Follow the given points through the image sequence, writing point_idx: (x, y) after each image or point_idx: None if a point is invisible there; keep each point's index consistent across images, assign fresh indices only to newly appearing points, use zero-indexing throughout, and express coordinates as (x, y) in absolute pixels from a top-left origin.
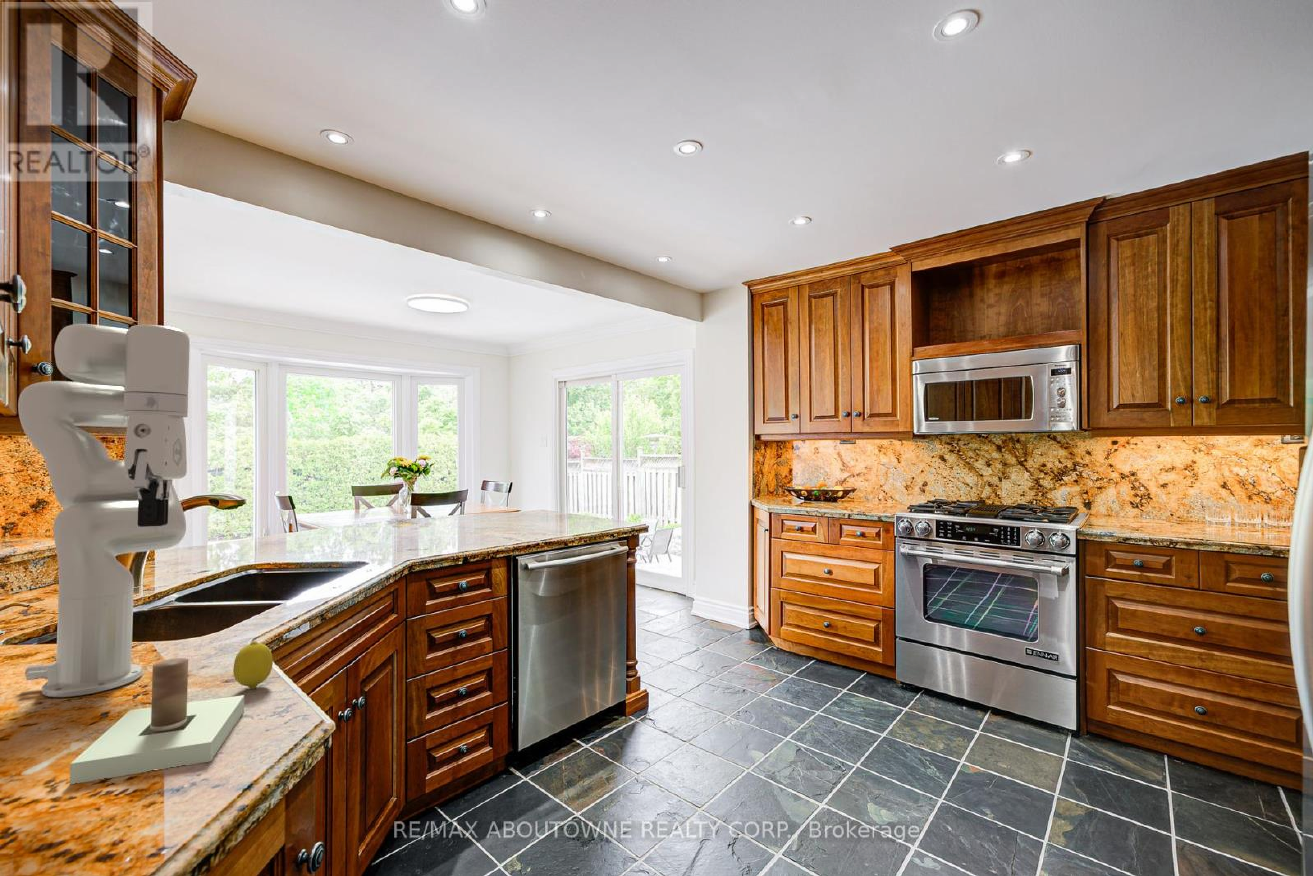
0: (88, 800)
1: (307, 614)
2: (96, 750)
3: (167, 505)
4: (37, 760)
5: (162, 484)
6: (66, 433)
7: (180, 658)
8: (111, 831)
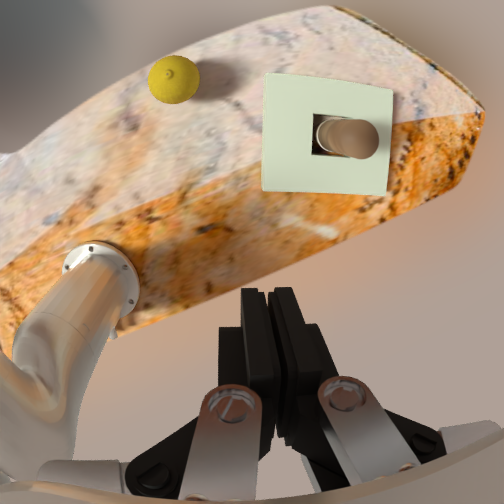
0: (408, 168)
1: None
2: (368, 184)
3: (265, 345)
4: (310, 239)
5: (366, 463)
6: None
7: (345, 131)
8: (452, 142)
